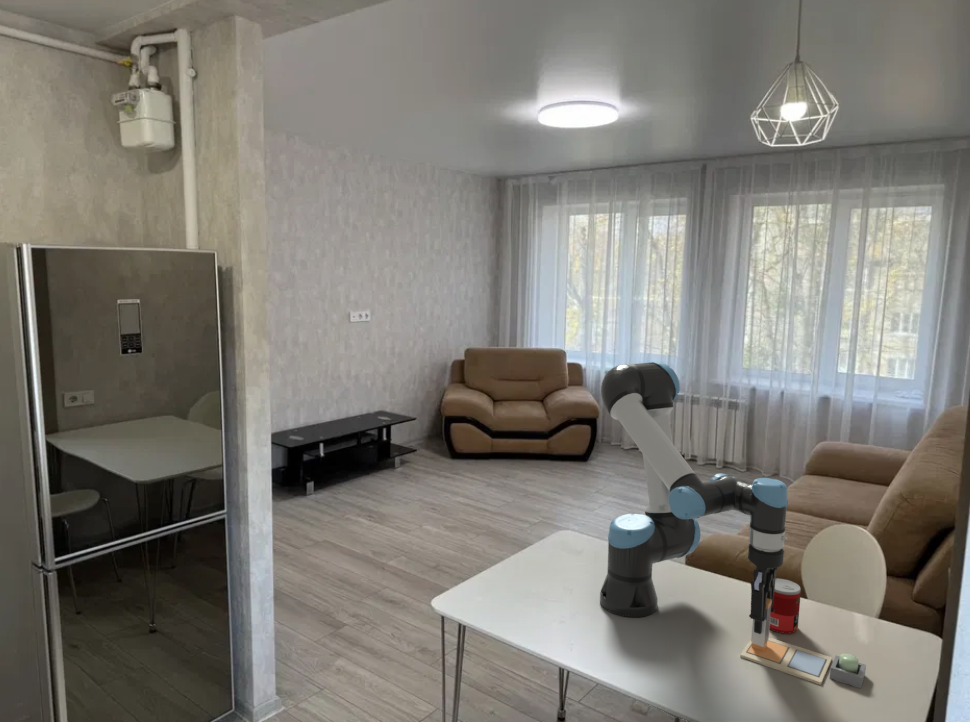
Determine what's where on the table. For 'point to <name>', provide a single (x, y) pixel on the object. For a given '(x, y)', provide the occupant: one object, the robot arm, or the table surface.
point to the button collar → (847, 674)
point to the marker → (767, 617)
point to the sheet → (790, 660)
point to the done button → (848, 663)
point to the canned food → (785, 607)
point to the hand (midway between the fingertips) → (760, 640)
